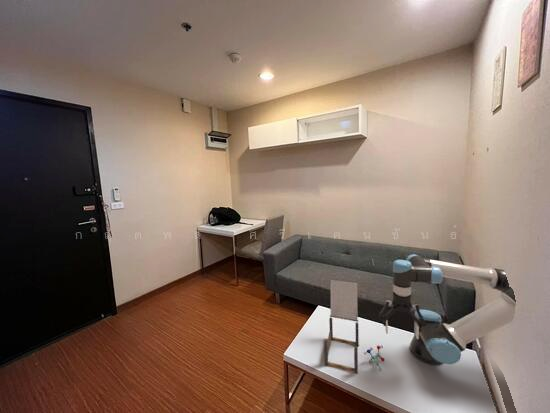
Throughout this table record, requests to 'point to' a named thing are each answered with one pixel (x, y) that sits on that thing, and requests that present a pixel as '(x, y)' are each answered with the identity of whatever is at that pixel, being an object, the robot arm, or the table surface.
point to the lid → (344, 300)
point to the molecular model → (375, 356)
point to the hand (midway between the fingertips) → (401, 334)
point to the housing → (330, 338)
